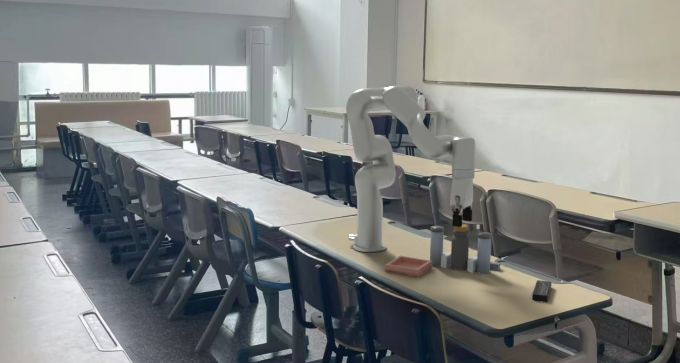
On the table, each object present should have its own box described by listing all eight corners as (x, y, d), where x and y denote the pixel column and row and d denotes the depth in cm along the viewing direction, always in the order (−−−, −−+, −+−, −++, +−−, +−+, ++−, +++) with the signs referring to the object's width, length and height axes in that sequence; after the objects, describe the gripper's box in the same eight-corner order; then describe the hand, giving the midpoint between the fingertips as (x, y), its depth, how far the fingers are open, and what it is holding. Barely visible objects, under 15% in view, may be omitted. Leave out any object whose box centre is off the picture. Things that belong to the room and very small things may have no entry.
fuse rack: (422, 264, 238) (423, 227, 236) (432, 258, 246) (433, 222, 243) (492, 275, 226) (494, 236, 224) (500, 268, 233) (501, 231, 231)
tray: (385, 271, 230) (385, 264, 229) (400, 262, 240) (400, 255, 240) (417, 277, 224) (418, 270, 223) (431, 267, 234) (432, 260, 234)
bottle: (467, 270, 231) (469, 227, 228) (450, 269, 232) (451, 226, 230) (468, 265, 237) (469, 223, 234) (451, 264, 238) (452, 222, 235)
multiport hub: (531, 301, 203) (532, 294, 203) (536, 286, 216) (537, 279, 216) (547, 303, 202) (547, 296, 201) (551, 288, 215) (551, 281, 214)
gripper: (461, 169, 238) (460, 217, 241) (443, 176, 223) (442, 227, 226) (482, 171, 234) (481, 219, 237) (464, 178, 219) (464, 230, 222)
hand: (462, 223), depth 231 cm, fingers open, 9 cm apart
